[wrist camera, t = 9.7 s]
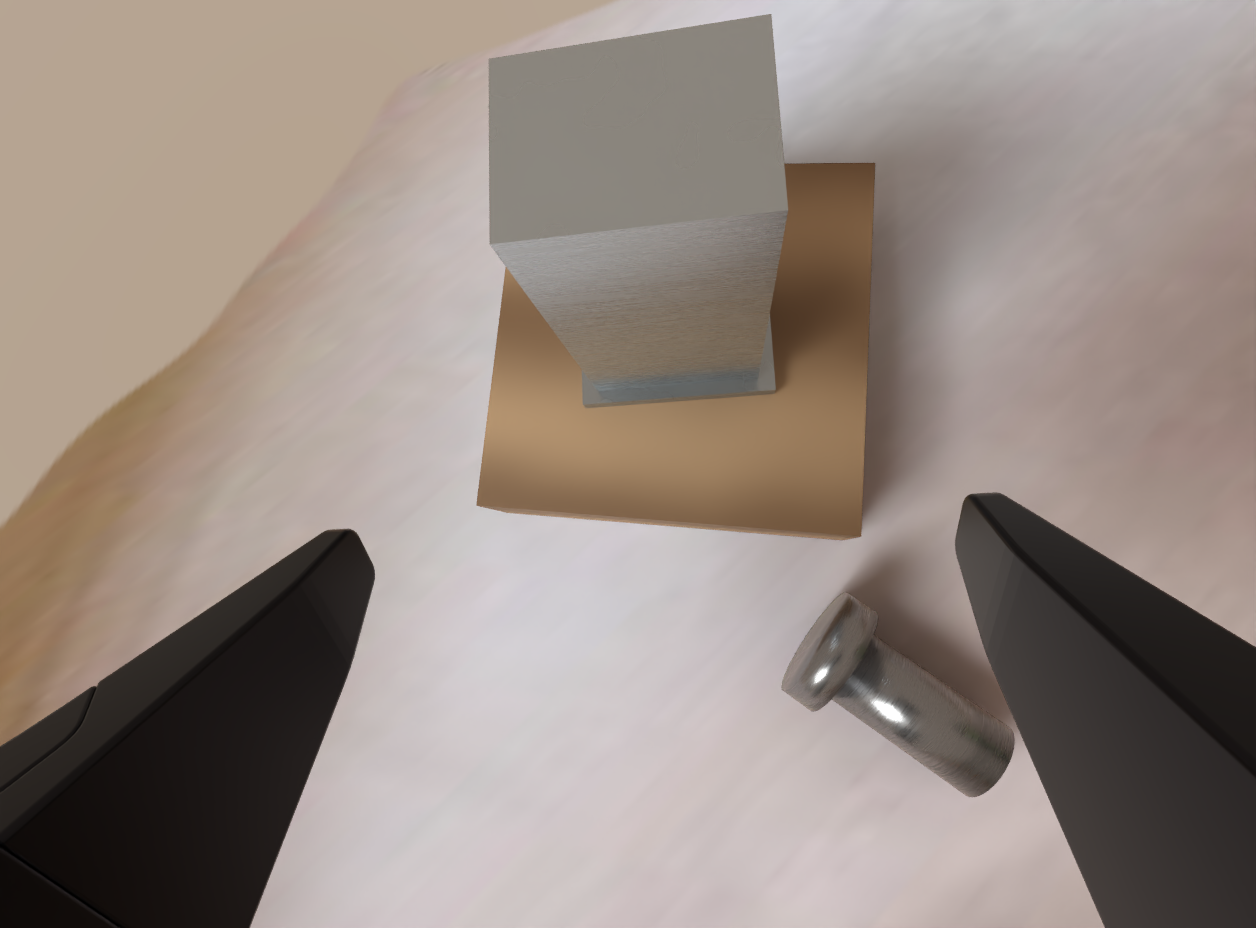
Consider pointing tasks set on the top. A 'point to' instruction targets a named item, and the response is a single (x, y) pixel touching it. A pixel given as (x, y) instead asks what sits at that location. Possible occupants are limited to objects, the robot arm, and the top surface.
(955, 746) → the bolt
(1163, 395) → the top surface
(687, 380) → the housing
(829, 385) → the stand
